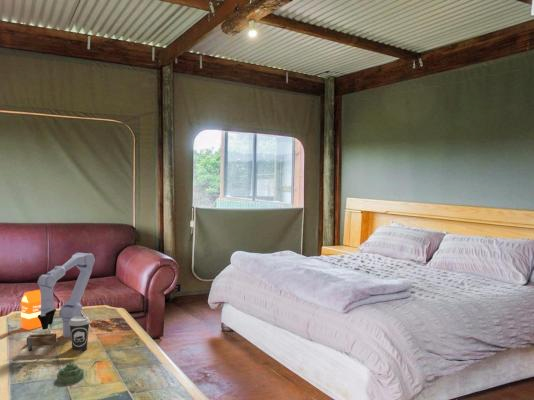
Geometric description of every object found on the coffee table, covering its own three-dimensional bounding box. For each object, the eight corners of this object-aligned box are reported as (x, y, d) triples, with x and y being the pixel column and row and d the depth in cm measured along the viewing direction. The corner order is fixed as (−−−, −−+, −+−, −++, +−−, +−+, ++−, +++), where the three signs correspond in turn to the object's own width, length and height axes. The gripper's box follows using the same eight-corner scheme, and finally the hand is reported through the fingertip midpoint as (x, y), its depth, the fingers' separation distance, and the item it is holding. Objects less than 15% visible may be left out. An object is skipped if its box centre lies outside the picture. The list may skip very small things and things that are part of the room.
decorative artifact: (57, 376, 196) (57, 385, 187) (57, 359, 196) (56, 368, 187) (83, 372, 200) (84, 381, 191) (82, 356, 200) (83, 364, 191)
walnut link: (56, 341, 235) (56, 333, 235) (53, 345, 229) (53, 337, 229) (30, 342, 233) (30, 334, 233) (26, 346, 228) (26, 338, 227)
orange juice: (44, 325, 263) (43, 290, 262) (28, 329, 256) (28, 293, 255) (36, 323, 267) (35, 288, 266) (20, 327, 260) (20, 291, 259)
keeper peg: (32, 349, 223) (32, 338, 223) (31, 351, 221) (31, 339, 221) (28, 350, 223) (28, 338, 222) (27, 351, 221) (27, 339, 221)
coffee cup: (94, 347, 229) (94, 317, 228) (79, 354, 220) (78, 322, 219) (80, 344, 233) (79, 314, 232) (64, 351, 224) (64, 320, 224)
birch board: (58, 341, 237) (58, 339, 237) (46, 356, 217) (46, 354, 217) (31, 343, 235) (31, 341, 235) (16, 357, 215) (16, 355, 215)
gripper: (42, 295, 237) (43, 322, 238) (33, 303, 223) (33, 331, 223) (57, 295, 238) (58, 322, 239) (49, 302, 224) (49, 331, 224)
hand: (47, 326), depth 231 cm, fingers open, 7 cm apart
